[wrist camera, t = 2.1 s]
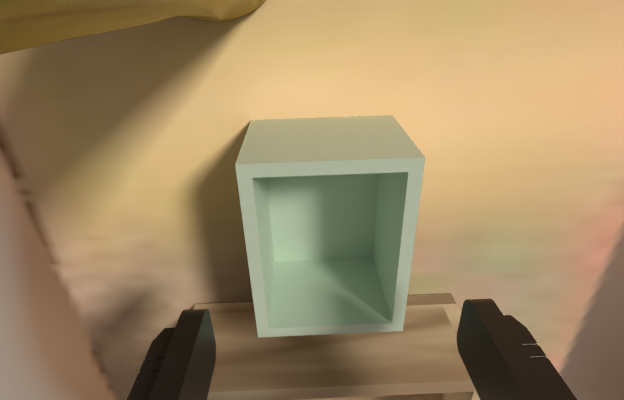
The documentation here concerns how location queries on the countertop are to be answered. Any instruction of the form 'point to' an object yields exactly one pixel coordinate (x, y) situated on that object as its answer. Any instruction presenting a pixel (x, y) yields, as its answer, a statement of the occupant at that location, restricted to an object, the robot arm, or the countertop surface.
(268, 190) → the crate small
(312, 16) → the countertop surface
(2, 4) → the vase
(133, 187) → the countertop surface
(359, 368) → the crate large
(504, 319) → the robot arm
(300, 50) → the countertop surface
